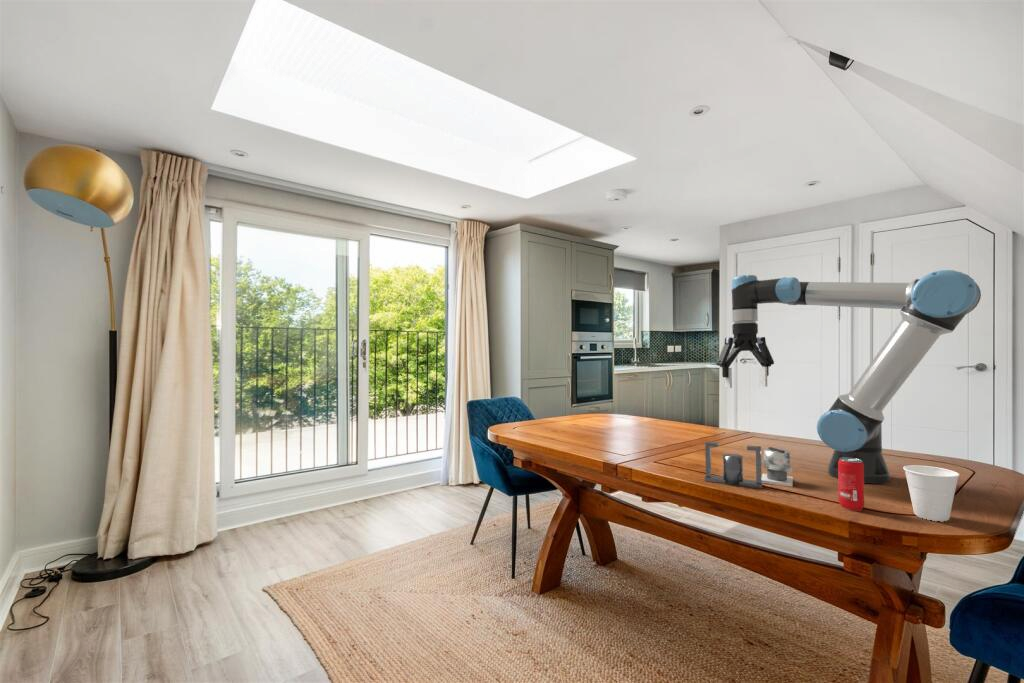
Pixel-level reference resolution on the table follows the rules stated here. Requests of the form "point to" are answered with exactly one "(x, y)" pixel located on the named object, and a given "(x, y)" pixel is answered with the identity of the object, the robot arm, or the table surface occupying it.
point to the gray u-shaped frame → (733, 468)
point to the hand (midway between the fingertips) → (745, 387)
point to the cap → (777, 459)
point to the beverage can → (851, 483)
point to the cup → (931, 491)
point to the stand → (777, 478)
